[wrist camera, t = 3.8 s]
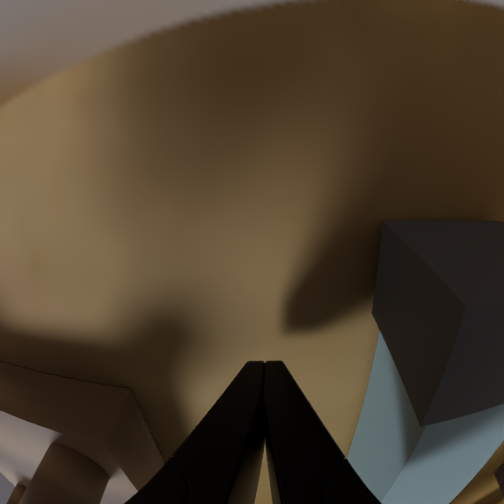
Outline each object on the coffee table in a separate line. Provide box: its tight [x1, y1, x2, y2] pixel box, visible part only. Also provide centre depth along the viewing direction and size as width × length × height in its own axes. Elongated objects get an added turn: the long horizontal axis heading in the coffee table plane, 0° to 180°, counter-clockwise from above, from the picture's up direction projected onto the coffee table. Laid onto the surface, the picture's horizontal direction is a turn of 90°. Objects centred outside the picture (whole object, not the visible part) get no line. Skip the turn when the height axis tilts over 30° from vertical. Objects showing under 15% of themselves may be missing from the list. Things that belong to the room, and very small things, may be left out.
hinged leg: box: [347, 220, 504, 504], centre depth 7 cm, size 12×4×4 cm, turn 3°
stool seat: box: [0, 361, 165, 504], centre depth 10 cm, size 12×12×6 cm
